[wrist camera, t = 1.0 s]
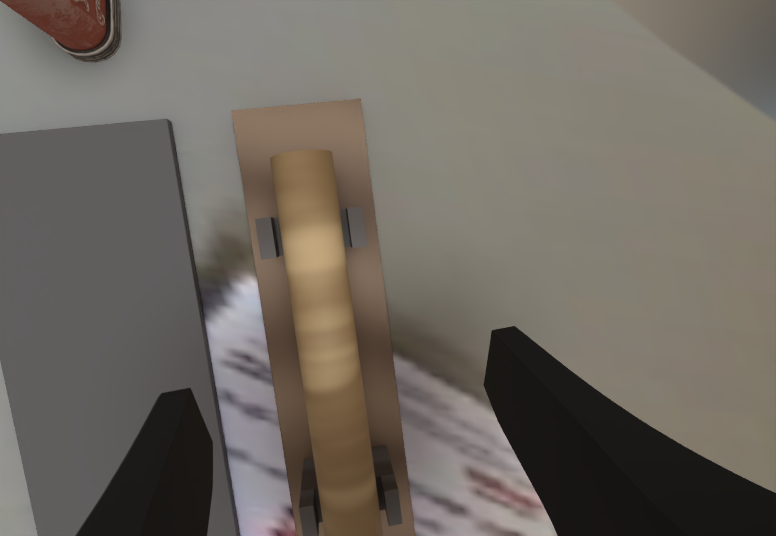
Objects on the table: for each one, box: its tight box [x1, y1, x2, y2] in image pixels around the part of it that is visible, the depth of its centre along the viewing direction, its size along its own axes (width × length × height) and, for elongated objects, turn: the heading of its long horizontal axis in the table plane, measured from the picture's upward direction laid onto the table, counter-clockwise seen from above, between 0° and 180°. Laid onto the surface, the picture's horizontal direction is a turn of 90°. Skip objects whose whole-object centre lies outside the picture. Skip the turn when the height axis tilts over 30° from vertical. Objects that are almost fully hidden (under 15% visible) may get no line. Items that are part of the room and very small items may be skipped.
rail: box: [270, 150, 383, 536], centre depth 19 cm, size 18×2×2 cm, turn 7°
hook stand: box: [232, 99, 415, 536], centre depth 21 cm, size 24×6×5 cm, turn 7°
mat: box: [0, 119, 240, 536], centre depth 22 cm, size 24×9×1 cm, turn 7°
